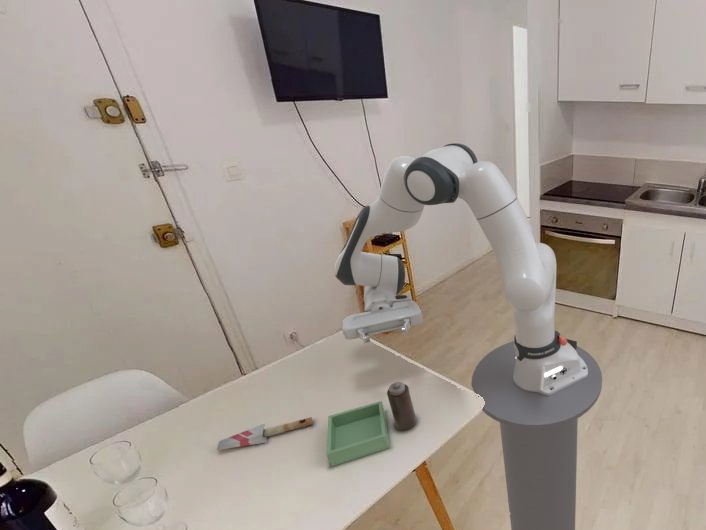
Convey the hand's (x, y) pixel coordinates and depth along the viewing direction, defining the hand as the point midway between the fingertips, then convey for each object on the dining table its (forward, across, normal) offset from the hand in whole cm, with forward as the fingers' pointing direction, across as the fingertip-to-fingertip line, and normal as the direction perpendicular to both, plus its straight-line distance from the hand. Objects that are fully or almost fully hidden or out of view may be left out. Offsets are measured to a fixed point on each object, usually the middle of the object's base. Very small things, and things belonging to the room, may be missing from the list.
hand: (385, 336), depth 105 cm
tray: (+13, -11, +19) cm, 25 cm away
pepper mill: (+13, 0, +19) cm, 23 cm away
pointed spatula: (+3, -32, +19) cm, 37 cm away
